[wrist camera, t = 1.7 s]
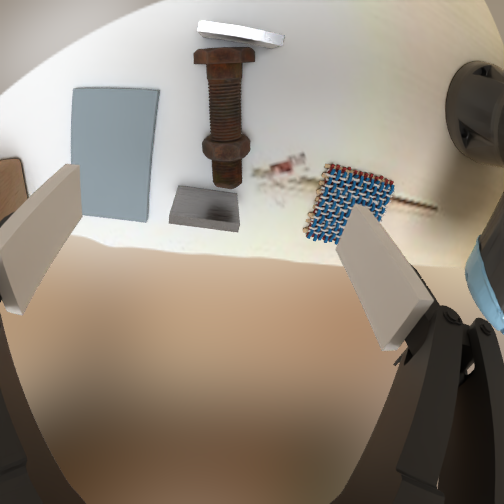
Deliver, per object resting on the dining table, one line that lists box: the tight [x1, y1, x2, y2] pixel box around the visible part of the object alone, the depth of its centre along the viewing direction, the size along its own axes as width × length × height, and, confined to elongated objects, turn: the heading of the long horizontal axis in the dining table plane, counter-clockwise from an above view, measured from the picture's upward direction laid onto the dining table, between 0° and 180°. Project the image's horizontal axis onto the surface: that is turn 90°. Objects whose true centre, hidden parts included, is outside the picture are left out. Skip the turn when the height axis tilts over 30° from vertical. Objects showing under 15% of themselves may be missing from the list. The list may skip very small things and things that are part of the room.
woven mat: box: [303, 164, 394, 245], centre depth 38 cm, size 10×11×2 cm
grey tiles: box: [169, 20, 285, 232], centre depth 27 cm, size 7×19×7 cm, turn 168°
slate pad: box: [71, 88, 160, 223], centre depth 31 cm, size 10×16×1 cm, turn 168°
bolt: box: [194, 47, 255, 189], centre depth 28 cm, size 6×5×15 cm
